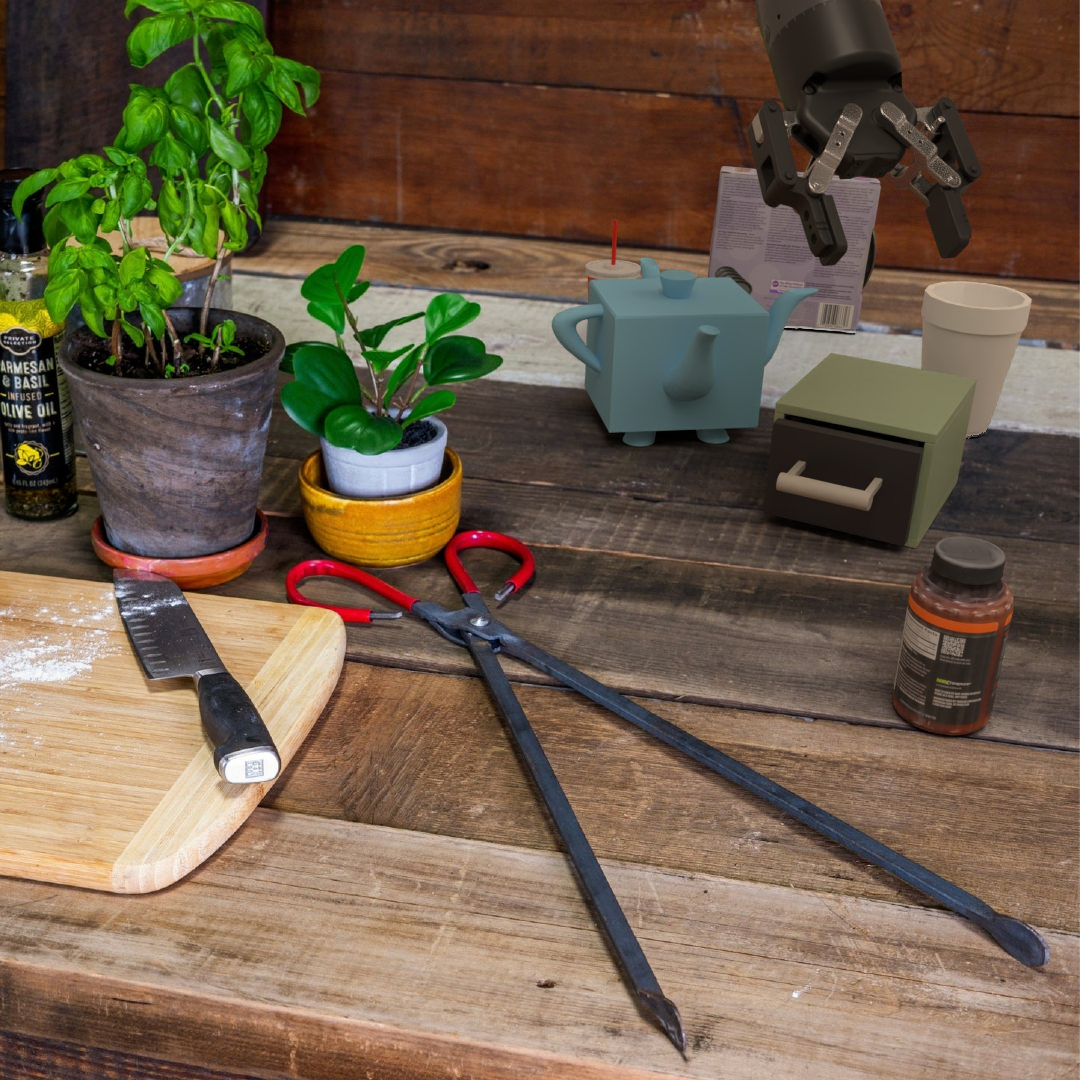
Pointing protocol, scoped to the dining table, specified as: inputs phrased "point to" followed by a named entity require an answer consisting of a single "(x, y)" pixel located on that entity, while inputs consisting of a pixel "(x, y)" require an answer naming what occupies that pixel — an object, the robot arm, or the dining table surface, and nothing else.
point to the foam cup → (973, 338)
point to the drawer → (843, 478)
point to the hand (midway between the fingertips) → (897, 255)
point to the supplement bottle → (954, 638)
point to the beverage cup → (612, 265)
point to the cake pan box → (794, 248)
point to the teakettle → (675, 351)
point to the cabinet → (893, 417)
